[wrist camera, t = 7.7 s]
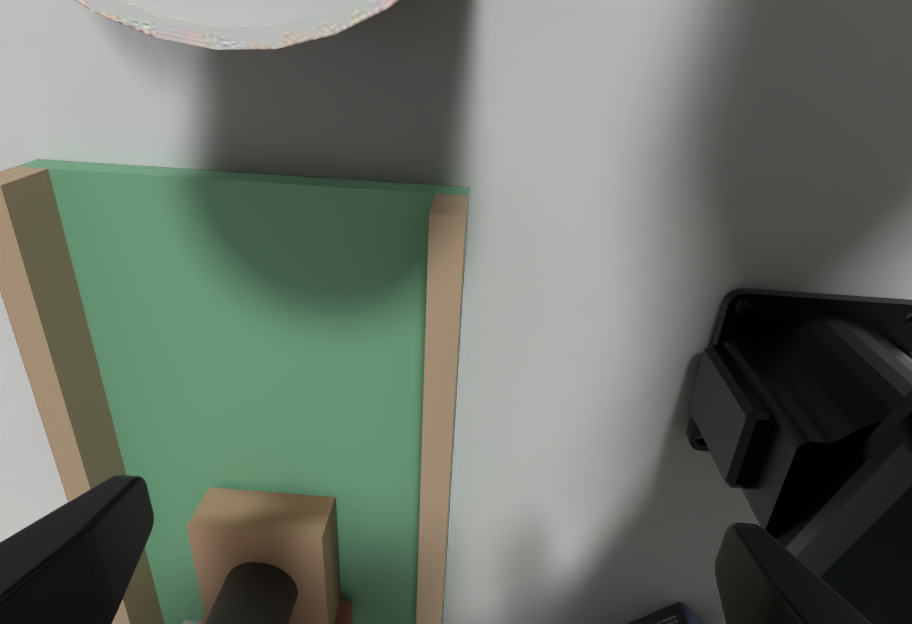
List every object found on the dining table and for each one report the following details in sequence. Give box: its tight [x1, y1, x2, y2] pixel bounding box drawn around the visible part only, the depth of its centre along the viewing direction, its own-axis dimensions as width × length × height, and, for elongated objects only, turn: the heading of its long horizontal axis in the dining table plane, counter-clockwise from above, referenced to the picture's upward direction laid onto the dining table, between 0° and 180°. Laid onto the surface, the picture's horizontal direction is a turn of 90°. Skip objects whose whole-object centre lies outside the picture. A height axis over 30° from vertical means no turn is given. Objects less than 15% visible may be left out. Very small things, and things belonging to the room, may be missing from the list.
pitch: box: [0, 159, 469, 624], centre depth 23 cm, size 14×27×5 cm, turn 177°
